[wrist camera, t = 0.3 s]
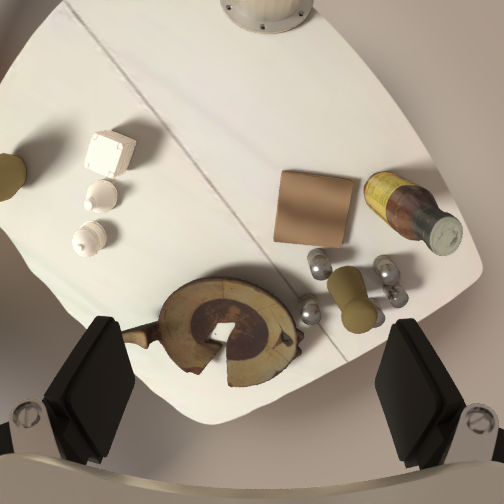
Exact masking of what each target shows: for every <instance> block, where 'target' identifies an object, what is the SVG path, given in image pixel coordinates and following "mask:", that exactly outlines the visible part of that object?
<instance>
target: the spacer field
mask: <svg viewBox="0 0 504 504" xmlns="http://www.w3.org/2000/svg"><path fill="white" fill-rule="evenodd" d="M307 260H308V263H309V267H310V270H311V273H312V276H313V277H314V278H315V279H316V280H326V279H327V278H329V277H330V276H331V274H332V266H331V264H330V262H329V260H328V257H327V255H326V253H325V251H324V250H322V249H319V248H317V249H313V250H311V251H310V252H309V254H308V256H307ZM373 267H374V269H375V271H376V272H377V274H378V275H379V277H380V278H381V280H382V282H383V283H384V285H383V291H384V292H385V294H386V296H387V297H388V299H389V300H390V302H391V304H392V305H393V307H395V308H401V307H403V306H405V305H406V303H407V302H408V299H409V297H408V294H407V293H406V292H405V290H404V289H403V287H402V286H401V285H400V283H399V282H398V280H399V278H400V272H399V270H398V269H397V268H396V266H395V265H394V264H393V263H392V261H391V260H390V259H389V258H388V257H387V256H386V255H380V256H378V257H377V258H376V259H375V260H374V262H373ZM368 299H369V300H371V301H372V302H373V303H374V304H375V306H376V308H377V311H378V319H377V321H376V324H375V325H374V326H373V328H376V327H379V326H381V325H382V324H383V323H384V321H385V315H384V313H383V312H382V310H381V308H380V306H379V304H378V302H377V301H376V299H374V298H368ZM299 306H300V311H301V317H302V321H303V322H304V323H305V324H307V325H314V324H316V323H318V322H319V321H320V319H321V313H320V309H319V305H318V302H317V298H316V297H315V296H314V295H313V294H305V295H303V296H301V298H300V299H299Z"/></svg>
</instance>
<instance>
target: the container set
mask: <svg viewBox="0 0 504 504" xmlns="http://www.w3.org/2000/svg"><path fill="white" fill-rule="evenodd" d="M135 146H136V140H134V139H132V138H129V137H127V136H124V135H121V134H119V133H116V132H113V131H111V130H105V131H99V132H95V133H94V134H93V136H92V139H91V142H90V145H89V148H88V152H87V155H86V158H85V162H84V165H85V167H86V168H88V169H90V170H93V171H95V172H97V173H99V174H102V175H104V176H106V177H109V178H116V177H118V176H120V175H121V174H123V173H125V172H126V170H127V169H128V166H129V163H130V160H131V157H132V154H133V152H134V149H135ZM117 196H118V193H117V190H116V188H115V186H114V185H113V184H112V183H111V182H109V181H107V180H99V181H97V182H95V183H93V184H92V185H91V186H90V187H89V188H88V191H87V199H86V200H85V202H84V206H85V208H86V209H87V210H89V211H90V210H94V211H95V212H98V213H106V212H108V211H110V210H111V209H112V208H113V207H114V206H115V204H116V202H117ZM72 242H73V247H74V249H75V251H76V252H77V253H78V254H79V255H81V256H83V257H91V256H93V255H95V254H96V253H97V252H98V251H100V250H101V249H102V248H104V246H105V245H106V242H107V236H106V232H105V230H104V228H103V227H102V226H101V225H100V224H99V223H97V222H94V221H88V222H86V223H84V224H83V225H82V226H81V227H80V228H79V229H78V230H77V231H76V232H75V234H74V236H73V241H72Z"/></svg>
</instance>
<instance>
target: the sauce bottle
mask: <svg viewBox="0 0 504 504" xmlns="http://www.w3.org/2000/svg"><path fill="white" fill-rule="evenodd" d="M364 197H365V201H366V203H367V204H368V205H369V207H370V208H371V209H372V210H373V211H374V212H375V213H376V214H377V215H378V216H379V217H380V218H382V219H383V220H384V221H385V222H386V223H387V224H388V225H389V226H390V227H391V228H393V229H394V230H395V231H396V232H398V233H399V234H400V235H401V236H403V237H404V238H407V239H409V240H416V241H420V240H423V241H424V242H425V243H426V245H427V246H428V248H429V249H430V250H431V251H432V252H434V253H435V254H436V255H439V256H447V255H449V254H451V253H453V252H454V251H455V250H456V249H457V248H458V247H459V245H460V242H461V239H462V234H463V230H462V225H461V223H460V221H459V220H458V219H457V218H456V217H454V216H453V215H451V214H450V213H447V212H443V211H441V210H440V209H439V207H438V205H437V203H436V201H435V199H434V197H433V195H432V194H431V193H430V192H429V191H428V190H426V189H425V188H423V187H421V186H419V185H416V184H415V183H413V182H410V181H408V180H406V179H404V178H402V177H400V176H398V175H395V174H393V173H390V172H379V173H375V174H373V175H372V176H371V177H370V178H369V179H368V180H367V182H366V184H365V185H364Z"/></svg>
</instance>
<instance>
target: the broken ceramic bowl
mask: <svg viewBox="0 0 504 504" xmlns="http://www.w3.org/2000/svg"><path fill="white" fill-rule="evenodd" d="M230 322H233V323H235V327H234V329H233V330H232V332H231V334H230V336H229V337H228V340H227V345H226V357H227V361H226V362H227V375H228V377H227V381H228V386H230V387H248V386H252V385H258V384H261V383H264V382H266V381H269V380H271V379H272V378H274V377H276V376H277V375H278V374H279V373H281V372H282V371H283V370H284V369H286V367H287V366H288V365H289V364H290V363H291V361H292V360H294V359H295V358H296V357H298V356H300V355H301V353H302V350H301V349H300V347H299V346H298V344H299V343H300V341H301V340H302V339H303V338H304V333H303V332H301V331H300V330H298V329H297V327H296V324H295V321H294V319H293V317H292V315H291V313H290V312H289V310H288V309H287V308H286V306H285V305H284V304H283V303H282V302H281V301H280V300H279V299H278V298H277V297H275V296H274V295H273V294H271V293H270V292H269V291H267V290H265V289H264V288H262V287H260V286H258V285H255V284H253V283H250V282H248V281H244V280H240V279H235V278H228V277H207V278H200V279H196V280H193V281H191V282H189V283H187V284H185V285H183V286H181V287H180V288H178V289H177V290H176V291H174V292H173V293H172V294H171V295H170V296H169V297H168V299H167V300H166V301H165V303H164V304H163V307H162V309H161V311H160V315H159V319H158V321H156V322H152V323H149V324H145V325H141V326H138V327H135V328H131V329H127V330H124V331H121V333H122V336H123V340H124V343H134V344H137V345H139V346H141V347H142V348H144V349H147V348H148V347H149V344H150V343H152V342H153V341H156V340H158V341H160V343H161V344H162V345H163V347H164V348H165V351H166V352H167V354H168V355H169V357H170V358H171V359H172V360H173V361H174V362H175V363H176V365H178V366H179V367H180V368H181V369H182V370H183V371H185V372H187V373H188V372H192V373H194V374H197V375H199V374H200V373H201V372H202V371H203V370H204V368H205V367H206V365H207V364H208V363H209V362H210V361H211V359H212V358H213V357H214V356H215V355H216V353H217V352H218V351H219V350H220V348H221V347H222V344H220V343H217V342H215V341H211V340H208V341H206V340H205V339H206V337H207V336H208V334H209V333H210V332H211V331H212V330H213V328H214V326H215V325H216V324H217V323H230ZM283 333H286V334H287V335H289V336H290V338H289V340H284V339H283V335H282V334H283ZM215 335H216V334H215Z"/></svg>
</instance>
